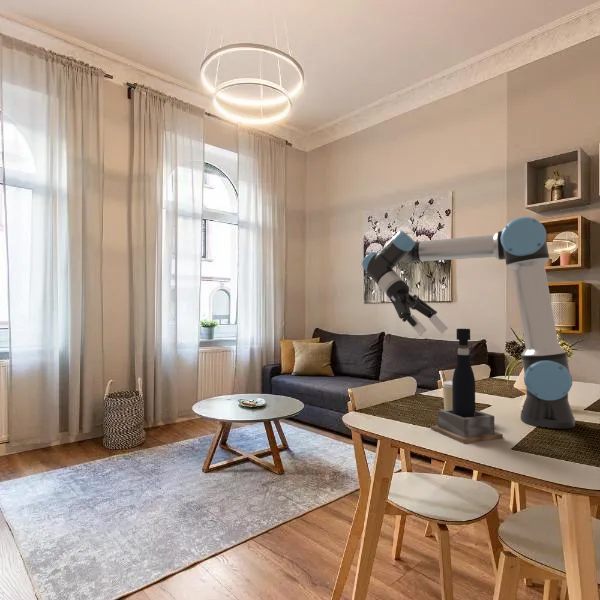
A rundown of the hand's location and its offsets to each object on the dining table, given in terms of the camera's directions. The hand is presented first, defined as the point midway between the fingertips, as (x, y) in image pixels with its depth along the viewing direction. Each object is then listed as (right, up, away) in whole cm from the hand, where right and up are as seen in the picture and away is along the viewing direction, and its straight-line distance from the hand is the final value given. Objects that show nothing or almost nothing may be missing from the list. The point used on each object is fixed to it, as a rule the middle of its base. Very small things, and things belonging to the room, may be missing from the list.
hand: (434, 331), depth 134 cm
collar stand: (+6, -29, -10) cm, 32 cm away
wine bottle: (+6, -29, -10) cm, 31 cm away
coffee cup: (+10, -30, +6) cm, 32 cm away
